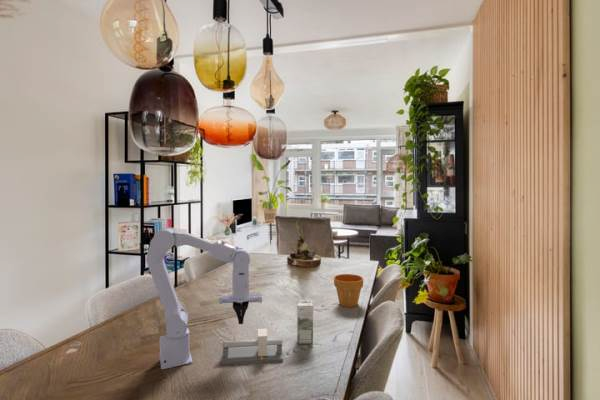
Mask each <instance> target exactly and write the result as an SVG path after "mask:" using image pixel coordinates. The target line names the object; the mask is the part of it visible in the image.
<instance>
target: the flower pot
mask: <svg viewBox="0 0 600 400" xmlns="http://www.w3.org/2000/svg"><path fill="white" fill-rule="evenodd" d="M333 285H334V287H335V289H336V294H337V298H338V303H339V305H340V306H342V307H346V308H353V307H354V308H355V307H356V306H358V304H359V300H360V299H359V298H360V295H361V294H360V293H361V291H362V288H363V287H364V278H363V277H362V276H361V275H359V274H358V275H357V274H353V273H351V274H349V273H344V274H338V275H334V277H333Z"/></svg>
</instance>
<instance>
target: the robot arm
mask: <svg viewBox="0 0 600 400" xmlns="http://www.w3.org/2000/svg"><path fill="white" fill-rule="evenodd" d="M226 242H227V241H225V240H221V241H219V240H217V241H215V242H211V241H209V240H206V239H204V238H203V237H202V238H201V237H199V236H196V235H194V234H192V233H189V232H186V231H183V230H181V229H174V228H172V227H170V226H167V227H163V228H162V229H160V230H159V231H158V232H156V234H154V236H153V237H152V239H151V240H150V241H149V247H148V251H147V253H146V254H147V255H146V257H145V260H146V264H147V266H148V268H149V272H150V275H151V277H152V280H153V282H154V283H153V284H154V285H155V288H156V289H155V290H157V295H158V297H159V300H160V302H161V305H162V308H163V310H164V311H163V312H164V320H165V323H166V325H165V332H166V334H165V335H162V336H160V337H159V354H158V355H159V356H158V359H159V360H158V361H159V362H160V370H167V369H170V368H175V367H178V366H183V365H188V364H192V363H193V358H192V356H191V350H190V348H191V345H190V344H191V343H190V342H191V341H190V340H191V339H190V338H191V336H190V329H189V328H188V323H189V318H190V316H189V314H188V312H187V311H186V310H185V309H184V308H183V305H182V304H181V302H180V301H179V298H178V295H177V293H176V290H175V289H176V288H175V286H174V285H173V281H172V278H171V276H170V273H169V270H168V267H167V265H166V262H165V260H164V258H165V256H166V255H167V253H168V252H169V251H170V249H171V248H173V247H174V245H175V248H178V247H181V246H188V247H192V248H195V249H199V250H202V251H204V252H208V253H209V254H210V256H211V258H213V259H217V260H220V261H222V262H225V263H229V264H230V263H231V264H232V273H231V274H232V275H231V277H232V285H231V286H232V287H231V289H232V294H231V295H223V296H222V295H220V296H219V298H218V303H219V305H221V304H230V303H231V304H232V308H233V310H234V312H235V314H236V317H237V321H238V325H244V318H245V316H246V312H247V310H248V308H249V304H250V303H260V304H261V303H263V295H257V294H250V263H251V258H250V255H249V253H248V251H247V250H246V249H243V247H239V246H237V245H235V246H233V245H231V244H229V243H226Z"/></svg>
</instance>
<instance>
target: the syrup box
mask: <svg viewBox="0 0 600 400" xmlns="http://www.w3.org/2000/svg"><path fill="white" fill-rule="evenodd" d="M296 301H297V302H296V309H297V311H296V318H297V319H296V320H297V321H296V322H297V324H296V326H297V327H296V329H297V330H296V331H297V332H296V334H297V335H296V336H297V344H298V345H308V344H311V345H312V344H314V305H313V301H312V300H296Z"/></svg>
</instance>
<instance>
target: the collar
mask: <svg viewBox="0 0 600 400" xmlns="http://www.w3.org/2000/svg"><path fill="white" fill-rule="evenodd" d="M257 331H258V332H257V340H258V346H257V347H258V356H267V339H268V328H266V327H265V328H258V329H257Z"/></svg>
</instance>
